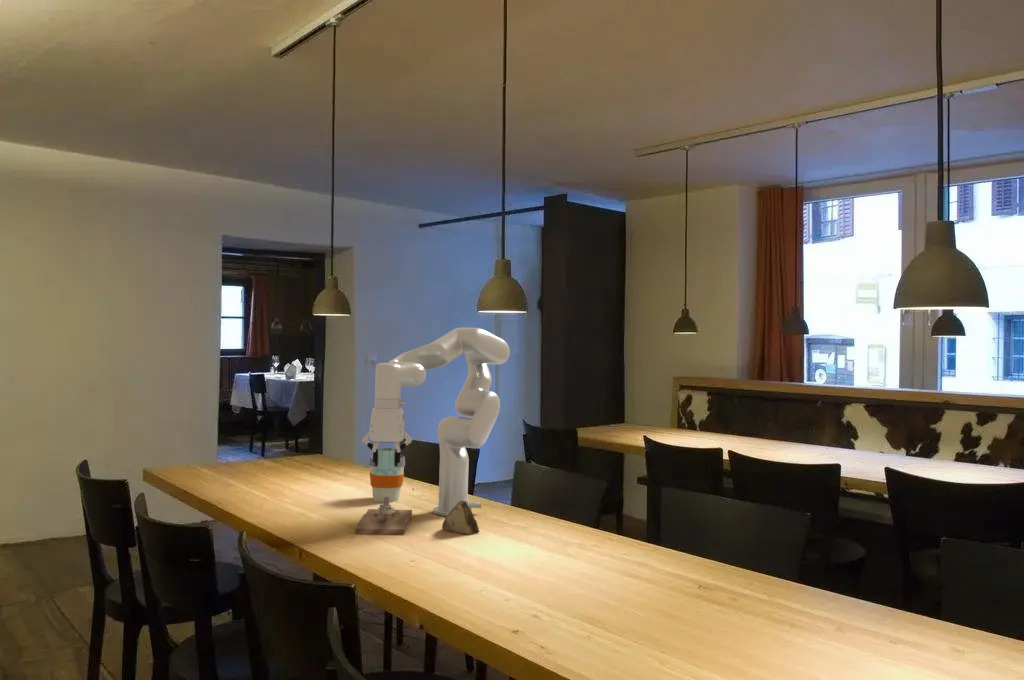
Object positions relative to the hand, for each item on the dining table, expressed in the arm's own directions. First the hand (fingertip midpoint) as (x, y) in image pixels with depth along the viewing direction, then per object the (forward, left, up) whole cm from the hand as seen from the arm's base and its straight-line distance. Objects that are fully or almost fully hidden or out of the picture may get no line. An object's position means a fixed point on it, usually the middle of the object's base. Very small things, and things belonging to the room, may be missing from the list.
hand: (386, 464), depth 221 cm
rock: (-23, +2, -19) cm, 30 cm away
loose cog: (0, 0, -2) cm, 2 cm away
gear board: (0, -6, -19) cm, 20 cm away
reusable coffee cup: (+4, -40, -19) cm, 45 cm away
